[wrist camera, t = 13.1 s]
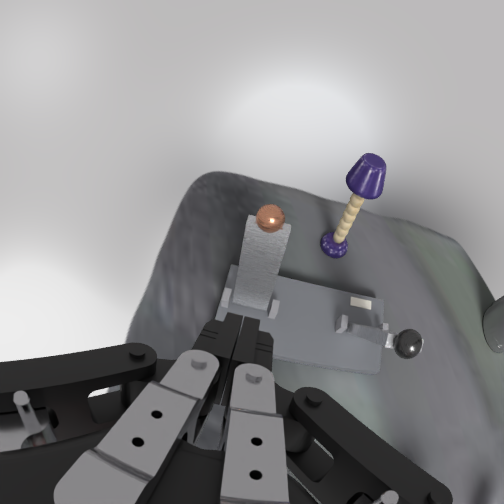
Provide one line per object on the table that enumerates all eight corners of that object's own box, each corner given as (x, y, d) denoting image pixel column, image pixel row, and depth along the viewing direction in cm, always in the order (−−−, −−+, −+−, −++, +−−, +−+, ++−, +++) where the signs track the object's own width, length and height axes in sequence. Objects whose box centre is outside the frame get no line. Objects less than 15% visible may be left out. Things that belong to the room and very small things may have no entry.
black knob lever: (371, 341, 32) (429, 363, 19) (343, 336, 32) (392, 359, 19) (376, 322, 33) (436, 333, 19) (348, 316, 33) (400, 327, 20)
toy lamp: (313, 250, 41) (354, 164, 27) (320, 227, 43) (358, 142, 29) (343, 262, 40) (396, 182, 26) (349, 238, 43) (395, 158, 29)
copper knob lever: (264, 317, 32) (294, 219, 24) (230, 309, 32) (248, 207, 24) (268, 301, 34) (296, 204, 26) (235, 293, 34) (253, 194, 26)
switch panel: (372, 374, 32) (387, 369, 28) (209, 342, 33) (208, 334, 29) (377, 305, 37) (390, 294, 34) (231, 271, 38) (231, 256, 35)
